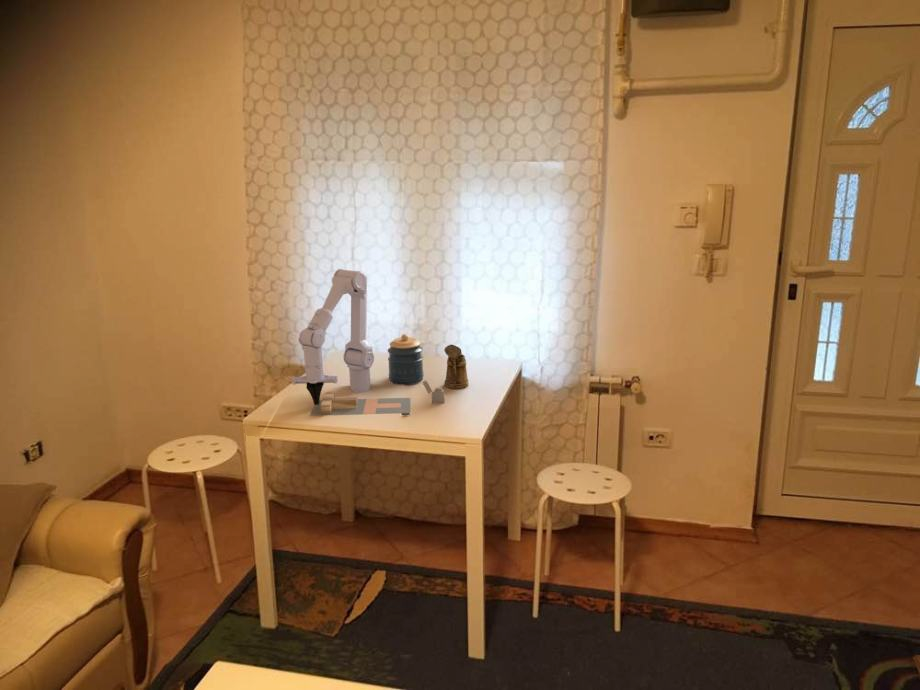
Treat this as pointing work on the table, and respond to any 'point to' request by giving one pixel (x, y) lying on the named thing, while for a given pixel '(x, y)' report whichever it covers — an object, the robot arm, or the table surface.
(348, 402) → the t block
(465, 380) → the bronze figurine
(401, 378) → the canister
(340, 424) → the table surface
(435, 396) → the lighter
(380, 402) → the slate board
